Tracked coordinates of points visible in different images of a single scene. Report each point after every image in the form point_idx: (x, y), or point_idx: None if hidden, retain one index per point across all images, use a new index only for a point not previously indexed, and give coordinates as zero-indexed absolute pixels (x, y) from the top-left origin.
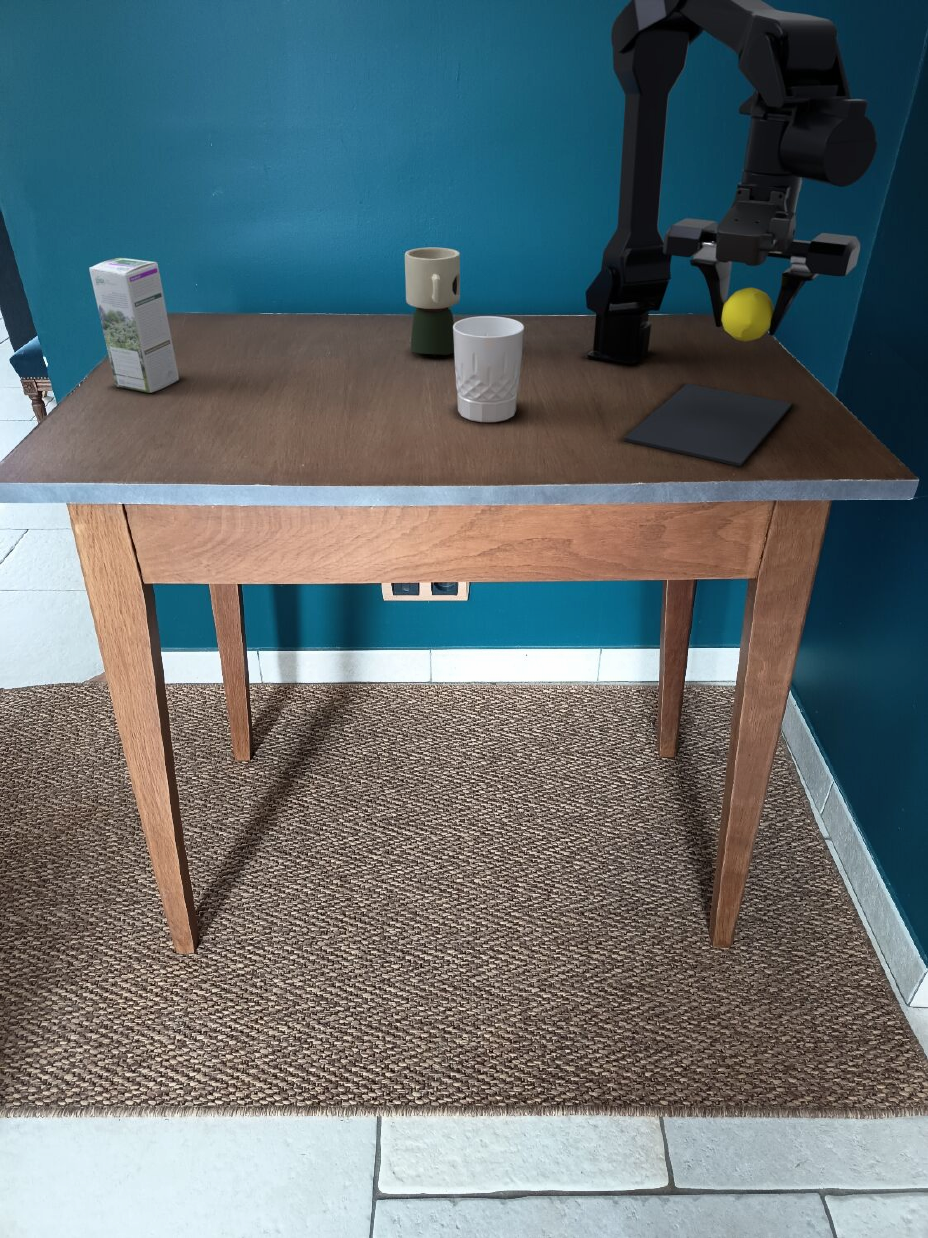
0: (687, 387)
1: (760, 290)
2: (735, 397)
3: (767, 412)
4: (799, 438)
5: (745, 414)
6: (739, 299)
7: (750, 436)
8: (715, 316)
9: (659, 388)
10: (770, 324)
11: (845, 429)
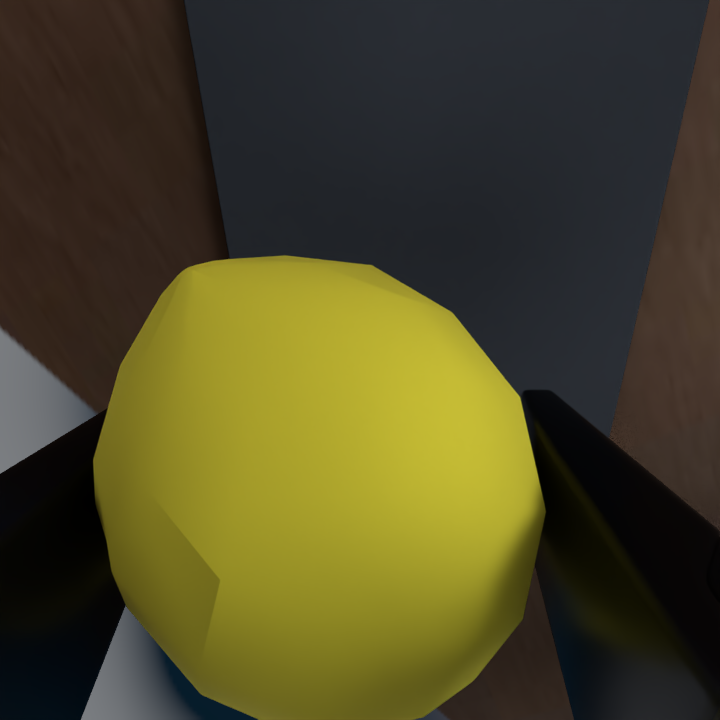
0: (600, 408)
1: (258, 713)
2: None
3: None
4: (120, 198)
5: None
6: (360, 488)
7: (243, 78)
8: (579, 422)
9: (697, 378)
10: None
11: (58, 343)
